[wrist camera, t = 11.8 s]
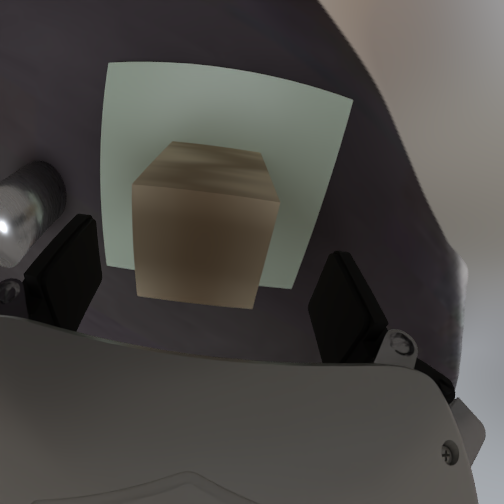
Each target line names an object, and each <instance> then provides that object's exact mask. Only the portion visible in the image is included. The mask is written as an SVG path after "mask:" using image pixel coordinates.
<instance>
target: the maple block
mask: <svg viewBox="0 0 504 504" xmlns="http://www.w3.org/2000/svg"><path fill="white" fill-rule="evenodd" d="M279 206H280V200H279V198H278V195H277V193H276V190H275V187H274V185H273V182H272V180H271V177H270V175H269V172H268V170H267V167H266V165H265V162H264V160H263V158H262V155H261V153H259V152H253V151H247V150H241V149H234V148H227V147H220V146H212V145H204V144H195V143H185V142H175V141H172V142H171V143H170V144H169V145H168V146H167V147H166V148H165V149H164V150H163V151H162V152H161V153H160V154H159V155H158V156H157V157H156V158H155V160H154V161H153V162H152V163H151V164H150V165H149V166H148V167H147V168H146V169H145V170H144V171H143V172H142V173H141V175H140V176H139V177H138V178H137V179H136V180H135V181H134V182H133V184H132V231H133V251H134V265H135V277H136V287H137V296H142V297H149V298H156V299H164V300H171V301H179V302H187V303H196V304H205V305H214V306H224V307H234V308H245V309H252V308H253V305H254V301H255V297H256V294H257V290H258V286H259V282H260V279H261V275H262V271H263V267H264V264H265V260H266V256H267V252H268V249H269V245H270V241H271V237H272V233H273V230H274V226H275V222H276V218H277V214H278V210H279Z"/></svg>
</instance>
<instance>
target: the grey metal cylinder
mask: <svg viewBox="0 0 504 504" xmlns="http://www.w3.org/2000/svg"><path fill="white" fill-rule="evenodd" d="M65 205H66V189H65V185H64V182H63V180H62V178H61V176H60V174H59V173H58V171H57V170H56V169H55V168H54V167H53V166H52V165H50V164H49V163H47V162H44V161H33V162H31V163H29V164H27V165H26V166H24V167H23V168H21V169H19V170H18V171H16V172H15V173H13V174H11V175H10V176H8V177H7V178H5V179H4V180H2V181H1V182H0V266H3V267H7V268H11V267H14V266H16V265H17V264H18V263H19V261H20V260H21V259H22V258H23V257H24V255H25V254H26V253H27V252H28V251H29V249H30V248H31V247H32V246H33V245H34V244H35V242H36V241H37V240H38V239H39V238H40V237H41V236H42V235H43V233H44V232H45V231H46V230H47V229H48V228H49V227H50V226H51V225H52V224H53V223H54V222H55V221H56V220H57V219H58V218H59V216H60V215H61V214H62V213H63V211H64V209H65Z"/></svg>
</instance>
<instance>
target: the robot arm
mask: <svg viewBox="0 0 504 504" xmlns="http://www.w3.org/2000/svg"><path fill="white" fill-rule="evenodd" d="M24 277H25V279H24V281H23V282H21V281H20V280H18V279H13V278H10V279H6V280H4V281H1V282H0V504H478V499H477V493H476V488H475V483H474V479H473V475H472V471H471V465H472V464H473V462H474V460H475V458H476V456H477V454H478V452H479V450H480V448H481V446H482V444H483V442H484V440H485V429H484V426H483V424H482V423H481V422H480V420H479V419H478V418H477V417H476V416H475V415H474V414H473V413H472V412H471V411H470V410H469V408H468V407H467V406H466V405H465V404H464V403H463V402H462V401H461V400H460V399H459V398H457V399H455V390H454V387H453V385H452V382H451V381H450V380H449V379H448V378H447V377H445V376H444V375H442V374H441V373H439V372H438V371H436V370H435V369H433V368H432V367H430V366H429V365H427V364H426V363H424V362H423V361H421V360H420V359H418V358H417V354H418V348H417V345H416V343H415V341H414V340H413V339H412V338H411V336H410V335H408V334H407V333H405V332H403V331H401V330H397V329H392V330H389V331H388V330H387V328H386V326H387V325H388V321H387V319H386V317H385V315H384V313H383V312H382V310H381V308H380V306H379V304H378V302H377V300H376V298H375V297H374V295H373V293H372V291H371V289H370V288H369V286H368V284H367V282H366V280H365V279H364V277H363V275H362V273H361V272H360V270H359V268H358V266H357V265H356V263H355V261H354V260H353V258H352V256H351V254H350V253H348V252H342V251H335V252H334V253H333V254H332V253H331V254H330V255H329V257H328V259H327V262H326V264H325V266H324V269H323V271H322V274H321V276H320V279H319V281H318V283H317V286H316V288H315V290H314V293H313V295H312V297H311V299H310V302H309V305H308V311H309V315H310V318H311V322H312V325H313V329H314V333H315V336H316V340H317V344H318V347H319V351H320V355H321V359H322V362H323V363H293V362H270V361H255V360H242V359H230V358H220V357H211V356H203V355H195V354H187V353H180V352H173V351H167V350H160V349H155V348H149V347H143V346H138V345H132V344H127V343H122V342H117V341H113V340H108V339H104V338H99V337H95V336H91V335H87V334H83V333H79V332H76V331H77V329H78V327H79V325H80V322H81V320H82V318H83V316H84V314H85V312H86V310H87V308H88V306H89V304H90V302H91V300H92V298H93V296H94V295H95V293H96V291H97V289H98V287H99V285H100V283H101V280H102V271H101V264H100V256H99V248H98V239H97V228H96V221H95V220H94V219H93V218H92V216H91V215H85V214H77V215H76V216H75V217H74V218H73V219H72V220H71V221H70V222H69V223H68V224H67V225H66V226H65V227H64V228H63V229H62V230H61V231H60V233H59V234H58V235H57V236H56V237H55V238H54V239H53V240H52V241H51V242H50V243H49V245H48V246H47V247H46V248H45V249H44V250H43V251H42V253H41V254H40V255H39V256H38V257H37V258H36V260H35V261H34V262H33V263H32V264H31V266H30V267H29V268H28V269H27V271H26V272H25V273H24Z"/></svg>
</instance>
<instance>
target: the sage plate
mask: <svg viewBox="0 0 504 504" xmlns="http://www.w3.org/2000/svg"><path fill="white" fill-rule="evenodd" d="M352 103H353V100H352V99H349V98H346V97H344V96H341V95H338V94H335V93H332V92H329V91H325V90H322V89H319V88H315V87H312V86H309V85H305V84H301V83H298V82H294V81H290V80H286V79H282V78H277V77H273V76H268V75H264V74H259V73H253V72H248V71H242V70H236V69H230V68H223V67H215V66H207V65H197V64H185V63H168V62H116V63H109V64H108V70H107V77H106V85H105V93H104V103H103V114H102V128H101V154H100V182H101V208H102V223H103V235H104V245H105V254H106V262H107V266H113V267H120V268H126V269H133V270H135V265H134V251H133V231H132V184H133V182H134V181H135V180H136V179H137V178H138V177H139V176H140V175H141V173H142V172H143V171H144V170H145V169H146V168H147V167H148V166H149V165H150V164H151V163H152V162H153V161H154V160H155V158H156V157H157V156H158V155H159V154H160V153H161V152H162V151H163V150H164V149H165V148H166V147H167V146H168V145H169V144H170V143H171V142H172V141H175V142H185V143H195V144H204V145H212V146H220V147H227V148H234V149H241V150H247V151H253V152H259V153H261V155H262V158H263V160H264V162H265V165H266V167H267V170H268V172H269V175H270V177H271V180H272V182H273V185H274V187H275V190H276V193H277V195H278V198H279V200H280V206H279V210H278V214H277V218H276V222H275V226H274V230H273V233H272V237H271V241H270V245H269V249H268V252H267V256H266V260H265V264H264V267H263V271H262V275H261V279H260V282H259V286H266V287H276V288H286V289H292V286H293V284H294V281H295V278H296V276H297V273H298V270H299V268H300V265H301V262H302V259H303V257H304V254H305V251H306V248H307V246H308V243H309V240H310V237H311V234H312V231H313V229H314V226H315V223H316V220H317V217H318V214H319V211H320V208H321V205H322V202H323V199H324V196H325V193H326V190H327V187H328V184H329V181H330V178H331V174H332V171H333V168H334V165H335V162H336V158H337V155H338V152H339V148H340V145H341V142H342V138H343V135H344V131H345V128H346V124H347V121H348V117H349V114H350V110H351V107H352Z"/></svg>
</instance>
